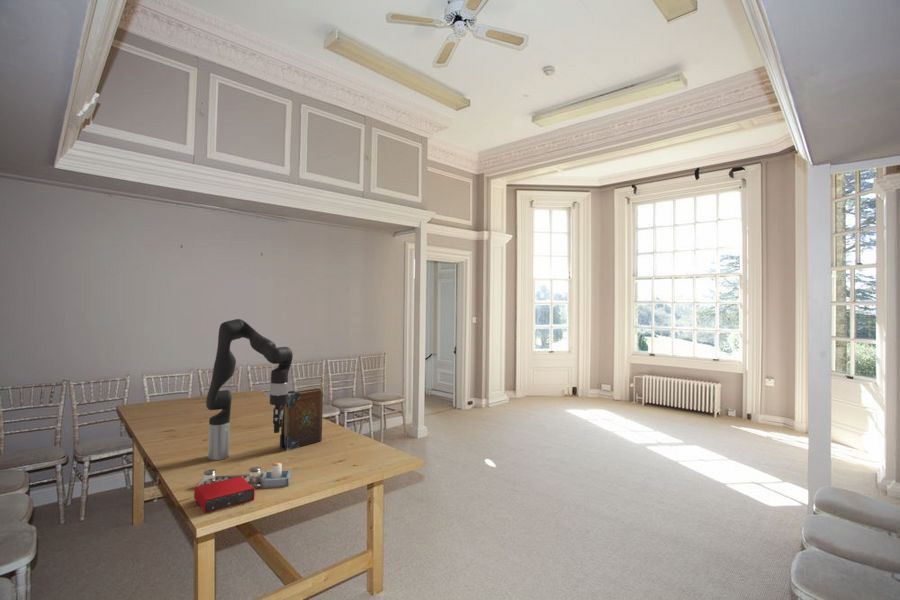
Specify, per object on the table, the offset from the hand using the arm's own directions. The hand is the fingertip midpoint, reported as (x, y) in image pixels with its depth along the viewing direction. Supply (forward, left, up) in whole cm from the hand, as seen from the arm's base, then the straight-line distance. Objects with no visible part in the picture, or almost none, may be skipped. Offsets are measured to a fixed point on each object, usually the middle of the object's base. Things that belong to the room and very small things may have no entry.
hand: (277, 429), depth 196 cm
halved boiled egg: (0, 0, -22) cm, 22 cm away
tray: (0, 0, -23) cm, 23 cm away
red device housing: (+16, -17, -23) cm, 32 cm away
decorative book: (-53, +7, -23) cm, 58 cm away
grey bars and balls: (0, -18, -23) cm, 29 cm away
